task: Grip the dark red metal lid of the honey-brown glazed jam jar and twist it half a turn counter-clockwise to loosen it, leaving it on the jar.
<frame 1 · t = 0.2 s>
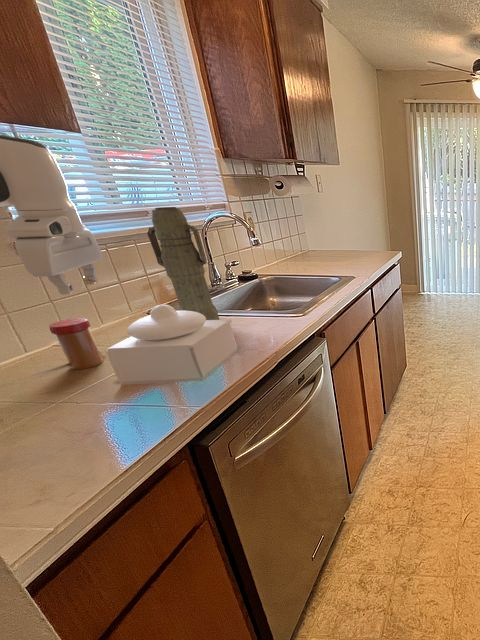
hand: (80, 288, 90), 19 cm above the counter, tool pointing down, fingers open, 8 cm apart
butter dish: (185, 367, 97), on the counter
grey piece: (205, 333, 119), on the counter
jar: (87, 364, 99), on the counter
lid: (69, 324, 95), point 11 cm above the counter, screwed on, not yet turned
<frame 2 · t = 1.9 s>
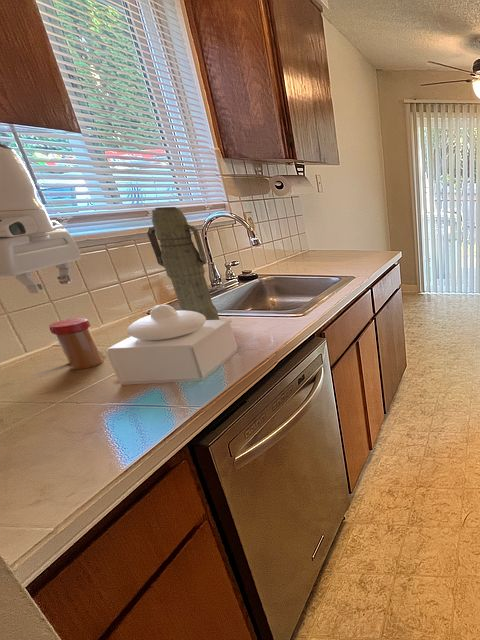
hand: (52, 287, 91), 19 cm above the counter, tool pointing down, fingers open, 7 cm apart
nothing on the counter moved.
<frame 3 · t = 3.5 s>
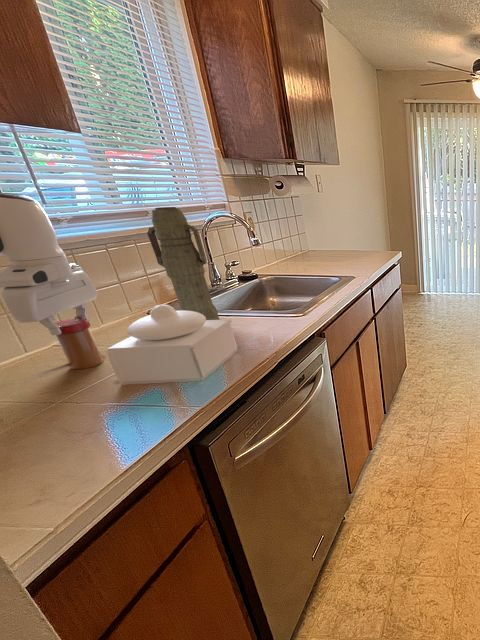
hand: (71, 328, 95), 9 cm above the counter, tool pointing down, fingers closed on lid, 6 cm apart
lid: (69, 324, 95), point 11 cm above the counter, screwed on, not yet turned, touching gripper
everything else where it was.
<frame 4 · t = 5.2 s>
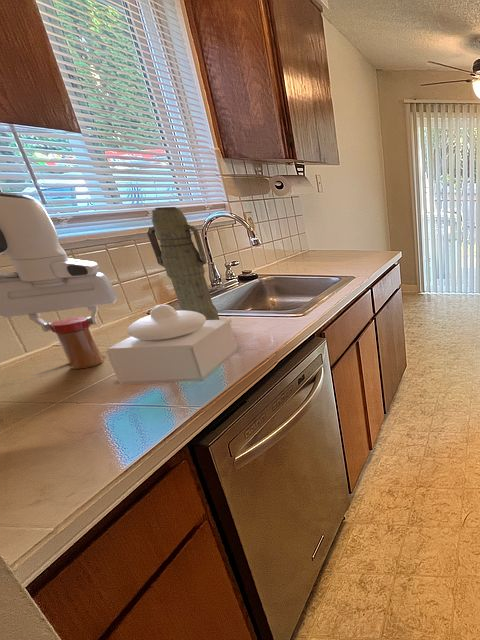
hand: (72, 327, 96), 10 cm above the counter, tool pointing down, fingers closed on lid, 6 cm apart
lid: (69, 322, 95), point 11 cm above the counter, turned 113° so far, risen 0.1 cm, still on its thread, touching gripper
everything else where it was.
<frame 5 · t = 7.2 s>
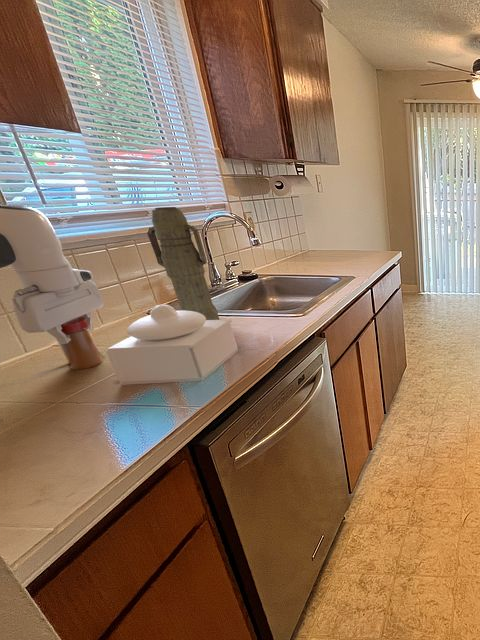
hand: (77, 337, 96), 7 cm above the counter, tool pointing down, fingers closed on jar, 6 cm apart
jar: (87, 364, 99), on the counter, touching gripper
lid: (67, 323, 95), point 11 cm above the counter, turned 183° so far, risen 0.2 cm, still on its thread
everything else where it was.
when the fingers open (7 cm above the counter, at t = 7.3 s): jar stays where it is, on the counter.
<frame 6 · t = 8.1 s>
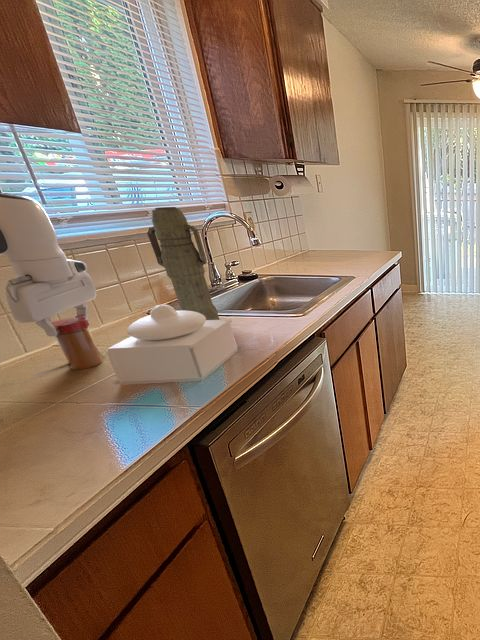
hand: (69, 328, 96), 9 cm above the counter, tool pointing down, fingers open, 8 cm apart
jar: (87, 364, 99), on the counter
everything else where it was.
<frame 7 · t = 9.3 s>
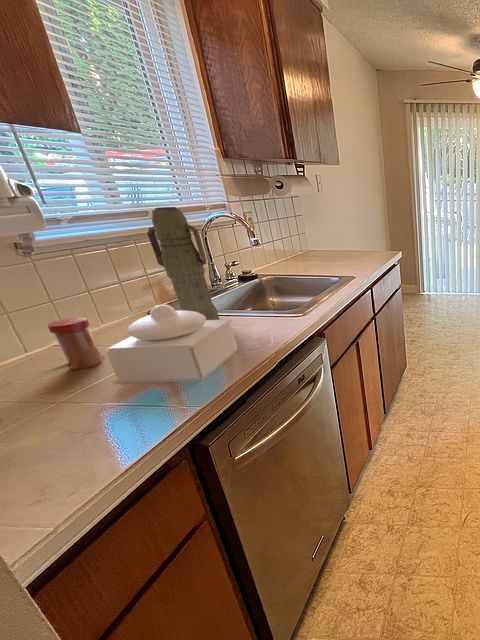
hand: (12, 258, 86), 27 cm above the counter, tool pointing down, fingers open, 8 cm apart
nothing on the counter moved.
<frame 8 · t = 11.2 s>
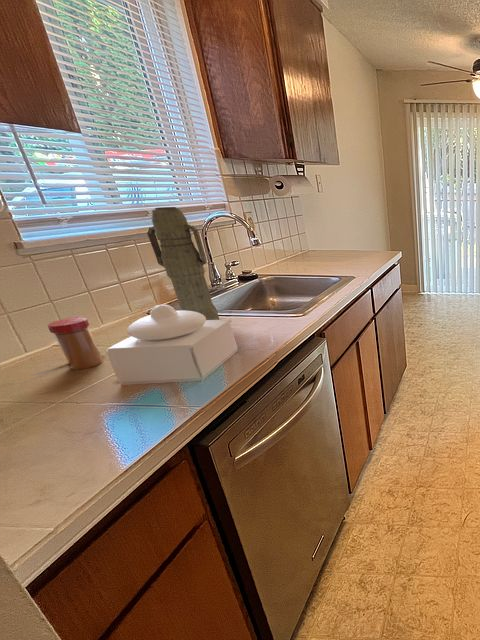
nothing on the counter moved.
at the end: lid turned 0.51 turns (still on its thread); lid is still on its thread (0.51 turns); jar tilted 0° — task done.
